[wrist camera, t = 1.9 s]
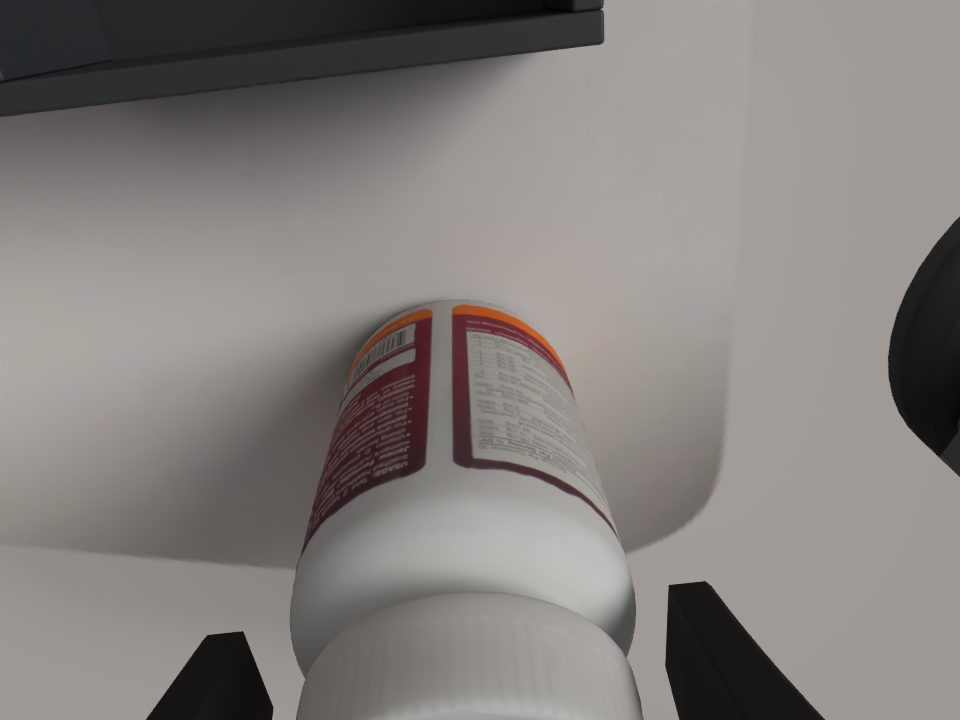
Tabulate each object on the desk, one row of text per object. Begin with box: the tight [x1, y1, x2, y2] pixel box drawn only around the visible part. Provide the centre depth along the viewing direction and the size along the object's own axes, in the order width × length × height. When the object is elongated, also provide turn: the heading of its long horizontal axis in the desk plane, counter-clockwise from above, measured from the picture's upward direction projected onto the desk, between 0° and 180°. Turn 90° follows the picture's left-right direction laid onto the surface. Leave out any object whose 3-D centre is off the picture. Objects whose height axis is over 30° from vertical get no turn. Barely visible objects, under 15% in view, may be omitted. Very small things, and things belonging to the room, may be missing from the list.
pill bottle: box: [290, 300, 643, 720], centre depth 14 cm, size 6×6×11 cm
